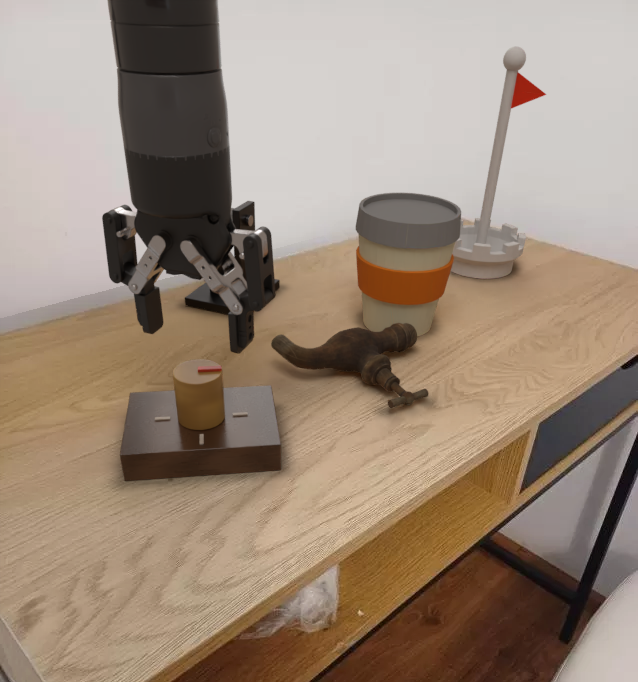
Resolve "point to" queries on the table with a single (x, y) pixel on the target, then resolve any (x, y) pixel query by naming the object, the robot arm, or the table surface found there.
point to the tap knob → (199, 394)
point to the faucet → (358, 356)
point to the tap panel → (200, 437)
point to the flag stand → (480, 239)
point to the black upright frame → (204, 294)
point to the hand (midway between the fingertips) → (195, 339)
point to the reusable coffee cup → (404, 257)
